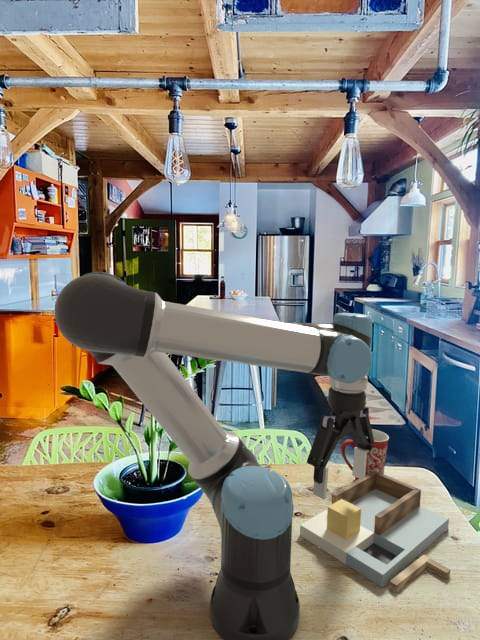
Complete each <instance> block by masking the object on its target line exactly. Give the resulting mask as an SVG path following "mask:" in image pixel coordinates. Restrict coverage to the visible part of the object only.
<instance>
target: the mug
mask: <svg viewBox="0 0 480 640" xmlns="http://www.w3.org/2000/svg"><path fill="white" fill-rule="evenodd" d="M371 429H372V433H373V438H374V444H373V445H371V444H370V445H371V446H373V448H372V450H371V451H369V450H367V457H366V469H365V476H366V475H367V474H369V473H371V472H373V471H377V472H379V473H381V474H384V475H385V473H384V472H385V465H386V458H387V451H388V444H389V443H388V442H389V439H390V437H389V435H388V434H387V433H385V432H384V431H381V430H378V429H374V428H371ZM366 437H367V436H366ZM367 438H368V437H367ZM349 444H351V445H352V446H353V448H354V447H358V448H359V446H357V444H356V442H355V440H354V439H349V438H347V439H345V440H344V441H342V443H341V445H340V446H341V447H340V452H341V456H342V458H343V460H344V462H345V463H346V465H347V467H348V468H349V469H350V470H351V471H352V472H353V464H351V463H350V461H349V460H348V459H347V457H346V452H345V451H346V447H347V445H349ZM354 478H355V480H354V481H356V480H358V479H359V478H357V477H355V476H354Z"/></svg>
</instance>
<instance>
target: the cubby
mask: <svg viewBox="0 0 480 640" xmlns="http://www.w3.org/2000/svg"><path fill="white" fill-rule="evenodd" d="M374 489H377V490H380V491H382V492H384V493H386V494H389V495H391V496H393V497H395V498H398V499H399V500H397V501H396V502H394V503H393V504H391V505H390V506H388V507H387V508H385V509H384V510H382V511H381V512H379V513H378V514H376V515H375V526H374V533H375V534H377V535H381V534H382V533H383V532H385V531H386V530H387V529H389V528H390V527H391V526H393V525H394V524H396V523H397V522H398V521H400V520H401V519H402V518H404V517H405V516H406V515H408V514H409V513H411V512H412V511H413V510H415V509H416V508H417V507H419V506H421V497H422V496H421V495H422V489H420V488H418V487H415V486H413V485H410V484H408V483H405V482H404V481H401V480H398V479H395V478H393V477H391V476H388V475H386V474H385V473H384V474H381V473H379V472H377V471H373V472H371V473H369V474H367V475H366V476H365V479H364V480H361V479H358V480H354V481H353V482H351V483H349V484H347V485H346V486H343V487H342V488H339V490H337V491H334V492H332V493H331V505H332V504H333V503H335V502H337V501H339V500H340V499H343V500H345V501H347V502H349V503H352V502H354V501H355V500H357V499H359V498H360V497H362V496H364V495H365V494H367V493H369V492H370V491H372V490H374Z"/></svg>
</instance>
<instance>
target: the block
mask: <svg viewBox="0 0 480 640" xmlns="http://www.w3.org/2000/svg"><path fill="white" fill-rule="evenodd" d="M327 509H328V513H327V529H329V530H330V531H332V532H334V533H335V534H337V535H339V536H341V537H342V538H344V539H346V540H347V539H348V538H350V537H351V536H352V535H354V534H355V533H357V532H358V531H360V521H361V508H359V507H357V506H355V505H353V504H351V503H349V502H347V501H345V500H343V499H340V500H339V501H337V502H335V503H333V504H332V503H331V504H330V505H328V506H327Z"/></svg>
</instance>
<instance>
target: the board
mask: <svg viewBox="0 0 480 640" xmlns="http://www.w3.org/2000/svg"><path fill="white" fill-rule="evenodd" d="M397 500H399V499H398V498H395V497H393V496H391V495H389V494H386V493H384V492H382V491H380V490H377V489H374V490H372V491H370V492H369V493H367V494H365V495H364V496H362V497H360V498H359V499H357V500H355V501H354V502H352V503H351V504H353V505H355V506H357V507H359V508H361V521H360V531H358V532H357V533H355V534H354V535H352V536H351V537H350V538H348V539H347V540H346V539H344V538H342V537H341V536H339V535H337V534H335V533H334V532H332V531H330V530H329V529H327V513H328V508H327V509H325V510H323V511H322V512H319V513H318V514H315V515H314V516H313V517H311V518H309V519H308V520H306V521H304V522H302V523H301V524H300V525H299V536H300V537H302V538H304V539H305V540H306V541H308V542H310V543H311V544H313V545H314V546H316V547H318V548H319V549H320V550H322V551H323V552H325V553H327V554H329V555H330V556H332V557H333V558H335V559H336V560H338V561H340V562H342V563H343V564H345V565H346V566H347V567H349V568H350V569H353V570H354V571H356V572H357V573H358V574H360V575H362V576H364V577H366V578H367V579H368V580H370V581H372V583H374V584H376V585H378V586H379V587H381V588H383V587H384V586H386V585H387V584H388V583H390V580H392V579H393V578H394V577H395V576H397V575H398V574H399V573H401V572H402V571H403V570H404V569H406V568H407V567H408V565H410V563H412V561H413V560H415V559H416V558H417V557H419V555H420V554H422V553H423V552H424V551H425V550H426V549H427V548H429V546H431V545H432V544H433V543H434V542H435V541H436V540H437V539H438V538H440V537H441V536H442V535H443V534H444V533H445V532H446V531H448V529H449V525H450V518H449V517H447V516H444V515H443V514H441V513H438V512H435V511H433V510H431V509H429V508H427V507H424V506H423V505H422V506H421V505H420V506H419V507H417V508H416V509H415V510H413V511H412V512H411V513H409V514H408V515H406V516H405V517H404V518H402V519H401V520H400V521H398V522H397V523H396V524H394V525H393V526H391V527H390V528H389V529H387V530H386V531H385V532H383V533H382V534H381V535H377V534H375V533H374V526H375V515H376V514H378V513H379V512H381V511H382V510H384V509H385V508H387V507H388V506H390V505H391V504H393V503H394V502H396V501H397Z"/></svg>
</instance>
